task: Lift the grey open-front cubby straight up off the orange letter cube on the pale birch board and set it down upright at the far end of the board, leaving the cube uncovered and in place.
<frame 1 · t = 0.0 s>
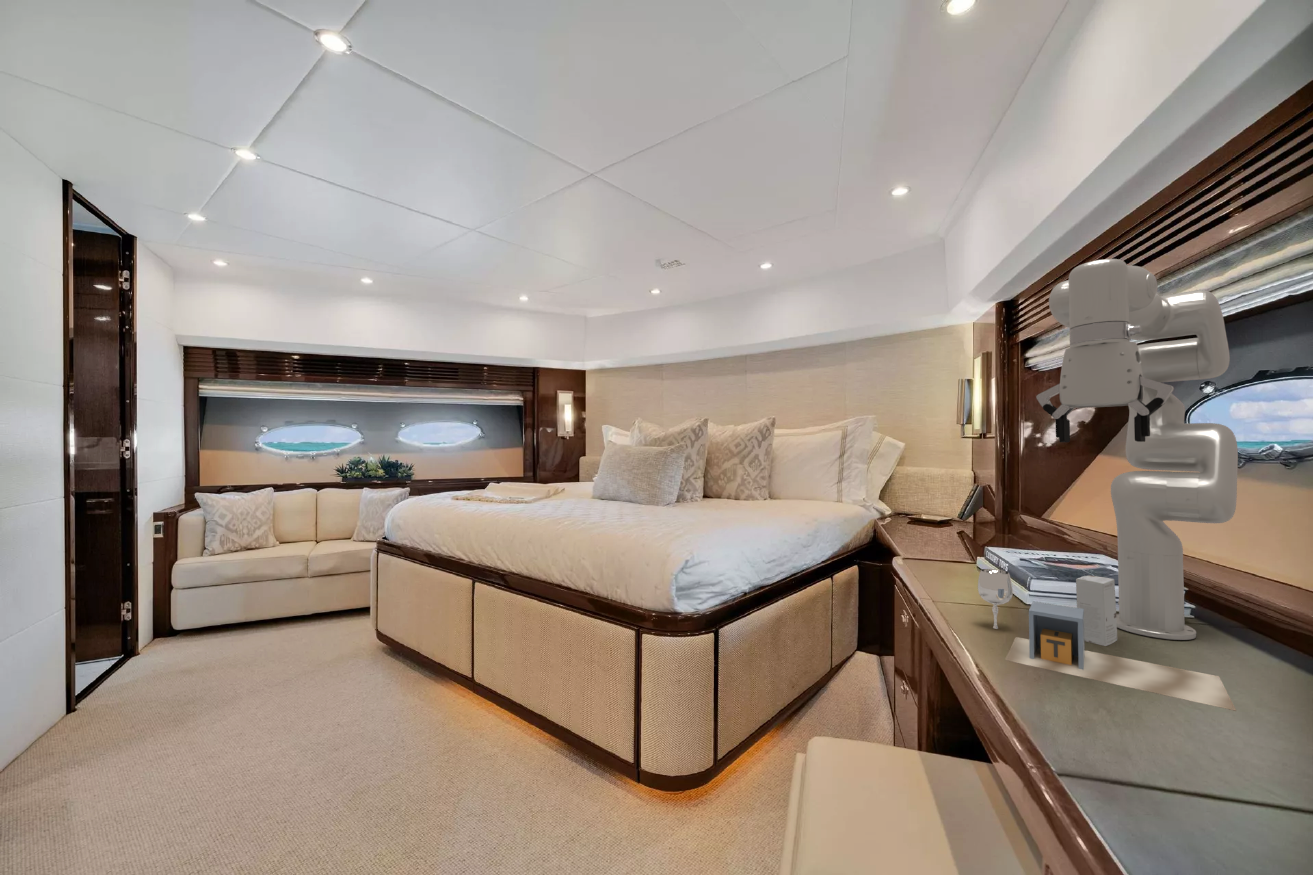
hand: (1100, 441, 86), 37 cm above the table, tool pointing down, fingers open, 9 cm apart
wineglass: (995, 634, 103), on the table
board: (1108, 674, 84), on the table
grey open-front cubby: (1057, 657, 88), point 1 cm above the table, touching board
letter cube: (1056, 658, 88), point 1 cm above the table, touching board
skincare box: (1097, 645, 96), on the table
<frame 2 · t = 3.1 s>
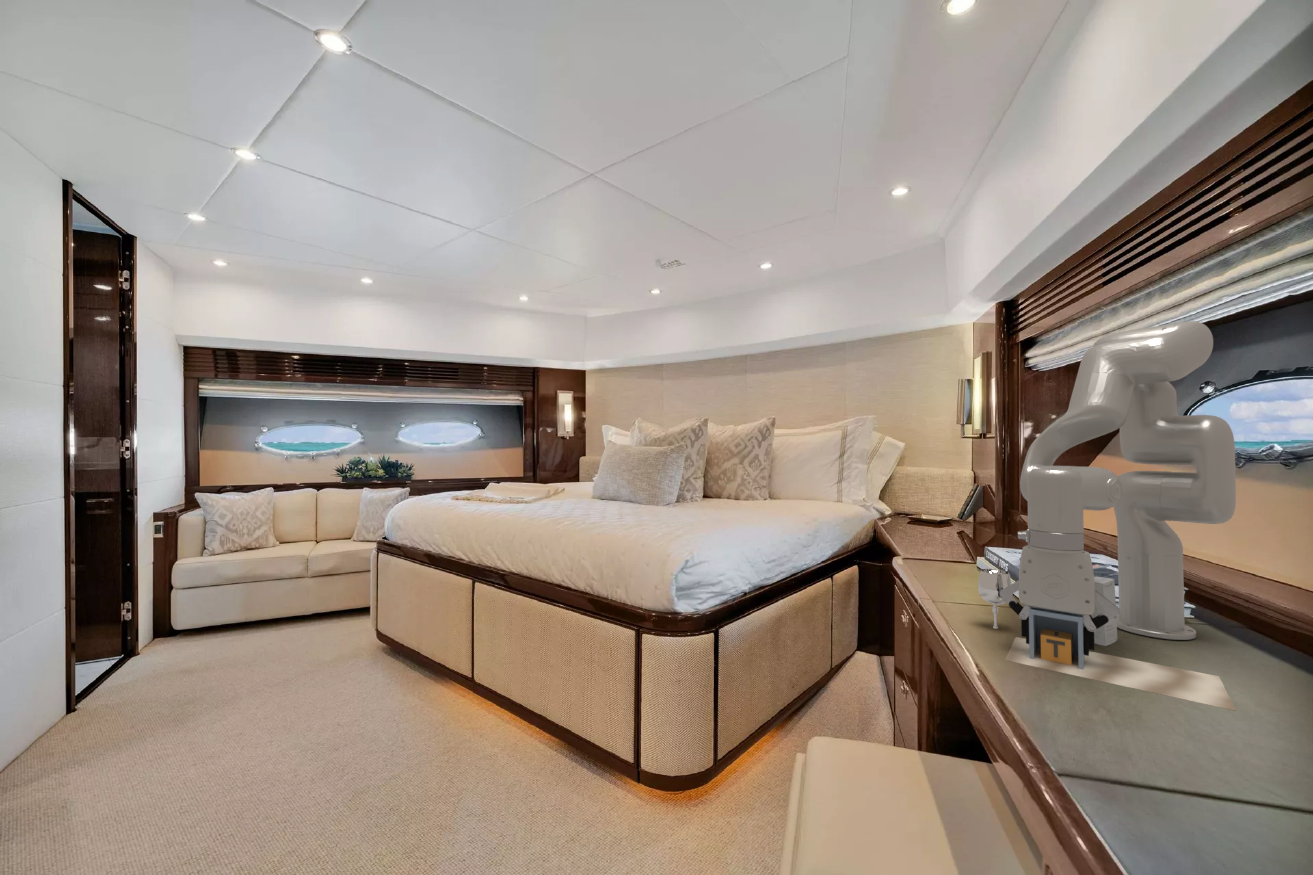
hand: (1057, 646, 88), 3 cm above the table, tool pointing down, fingers closed on grey open-front cubby, 7 cm apart
grey open-front cubby: (1057, 657, 88), point 1 cm above the table, touching board, gripper
everything else where it was.
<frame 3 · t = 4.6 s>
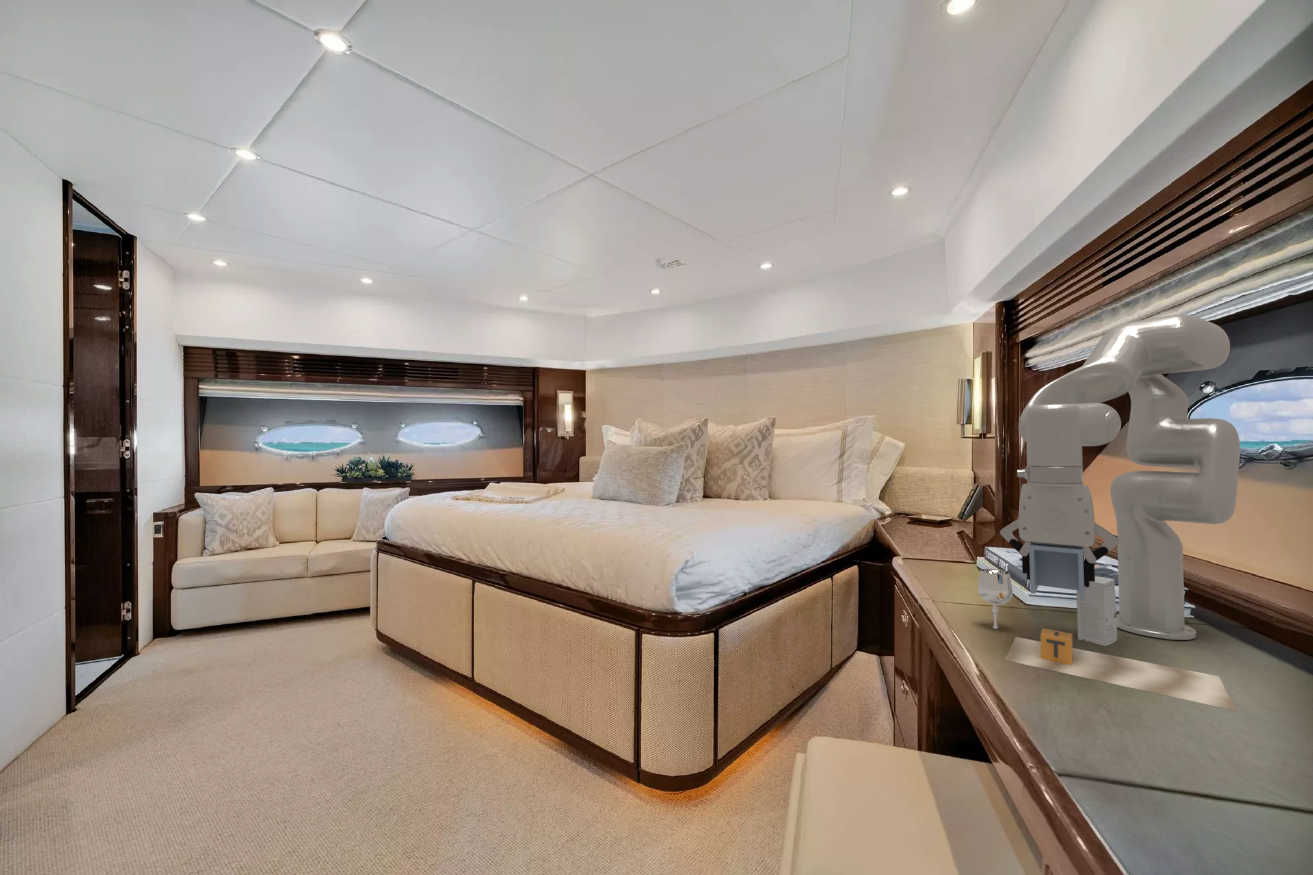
hand: (1057, 581, 88), 14 cm above the table, tool pointing down, fingers closed on grey open-front cubby, 7 cm apart
grey open-front cubby: (1058, 591, 88), point 12 cm above the table, touching gripper
everything else where it was.
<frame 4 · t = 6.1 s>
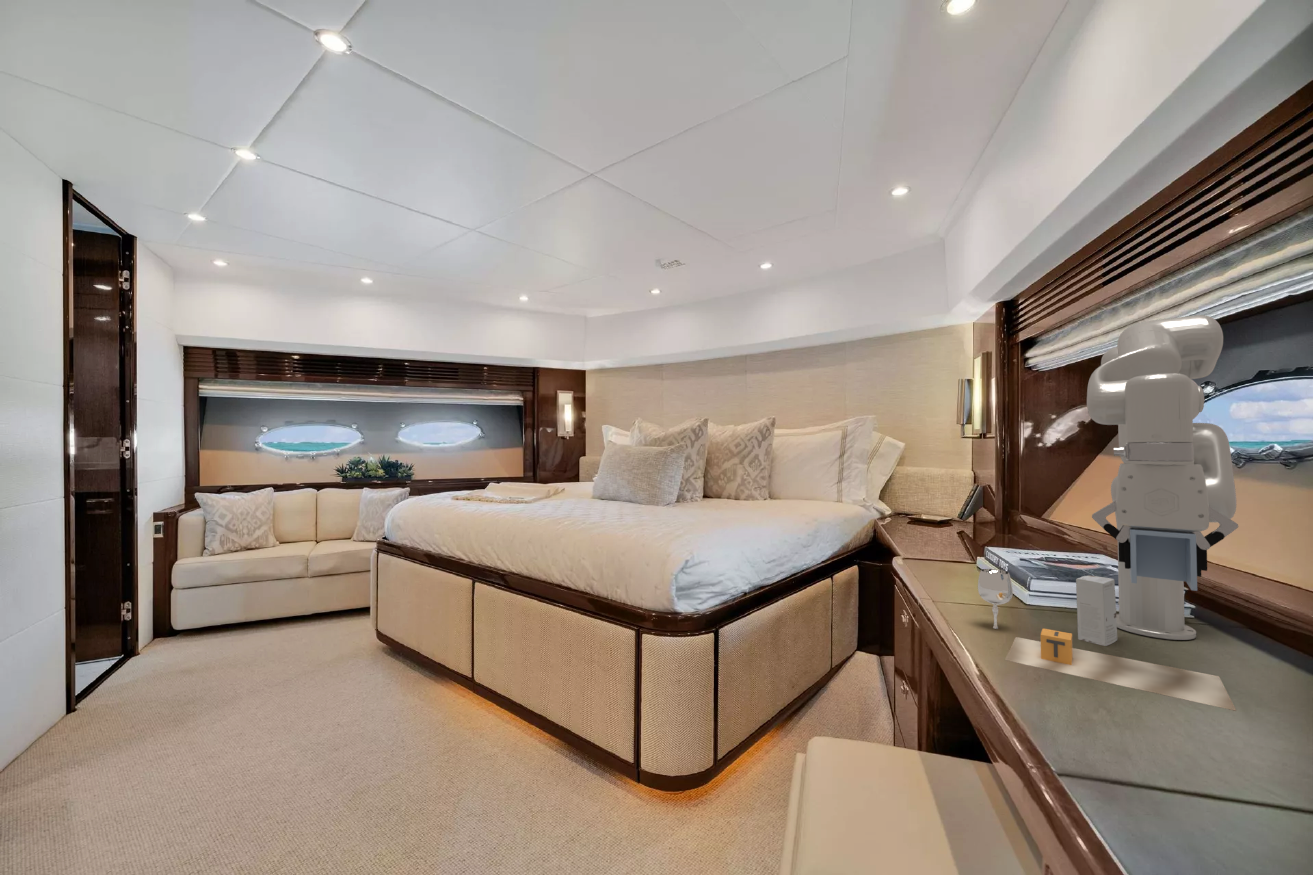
hand: (1161, 570, 80), 18 cm above the table, tool pointing down, fingers closed on grey open-front cubby, 7 cm apart
grey open-front cubby: (1161, 582, 80), point 16 cm above the table, touching gripper
everything else where it was.
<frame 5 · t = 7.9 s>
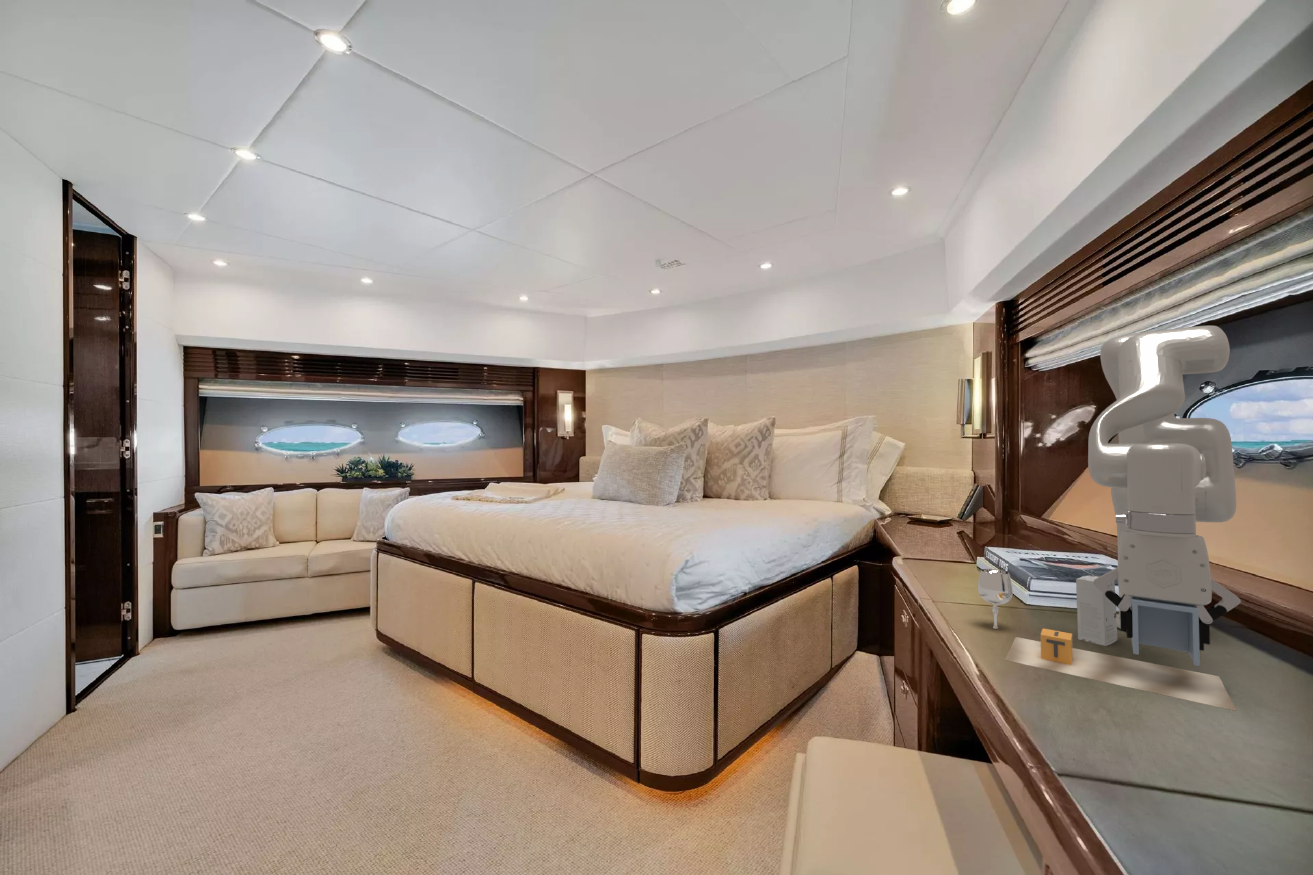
hand: (1163, 640, 79), 7 cm above the table, tool pointing down, fingers closed on grey open-front cubby, 7 cm apart
grey open-front cubby: (1163, 653, 79), point 5 cm above the table, touching gripper
everything else where it was.
when the fingers open (4 cm above the table, at t = 9.5 s): grey open-front cubby drops 1 cm, resting on board.
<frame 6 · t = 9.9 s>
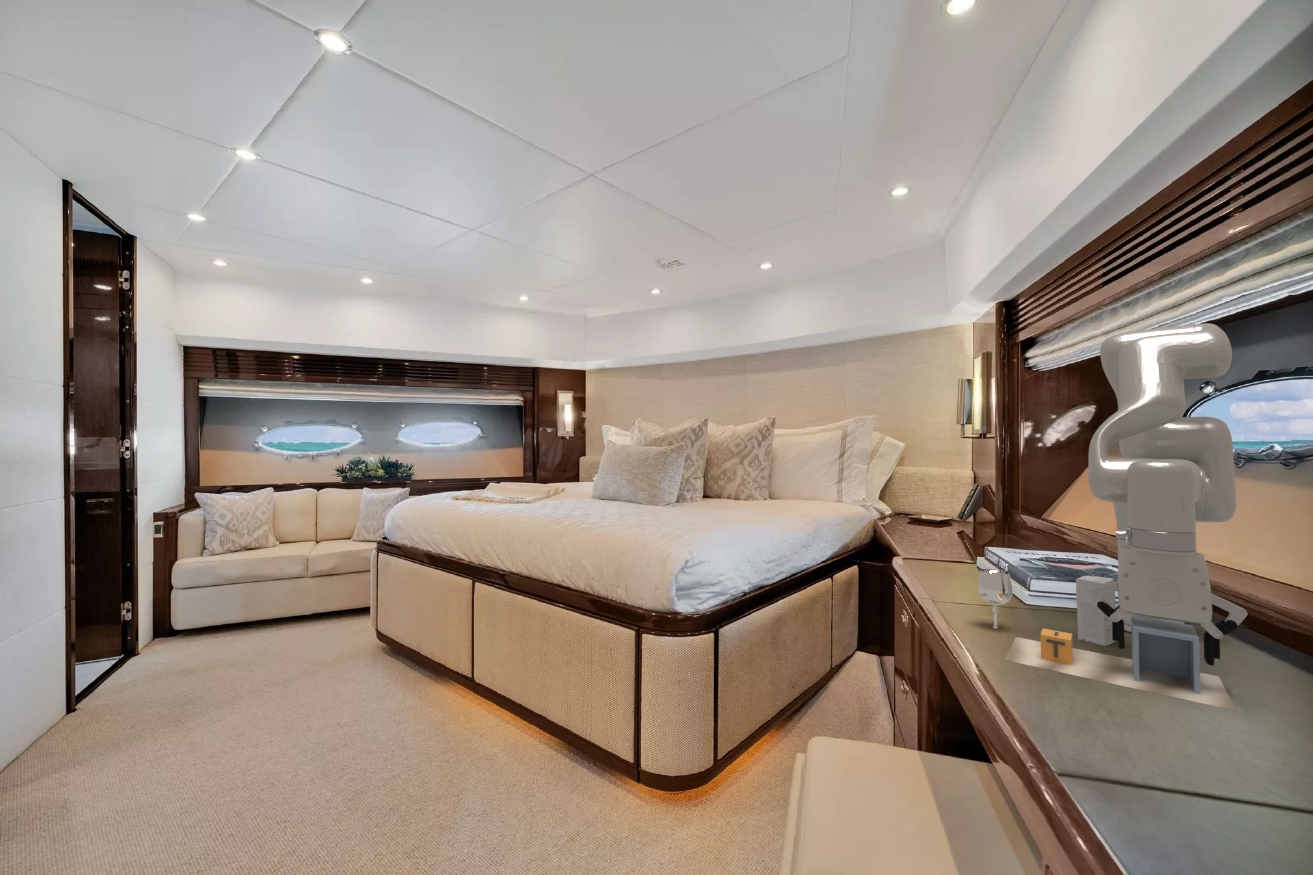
hand: (1163, 654, 80), 5 cm above the table, tool pointing down, fingers open, 9 cm apart
grey open-front cubby: (1164, 679, 80), point 1 cm above the table, touching board
everything else where it was.
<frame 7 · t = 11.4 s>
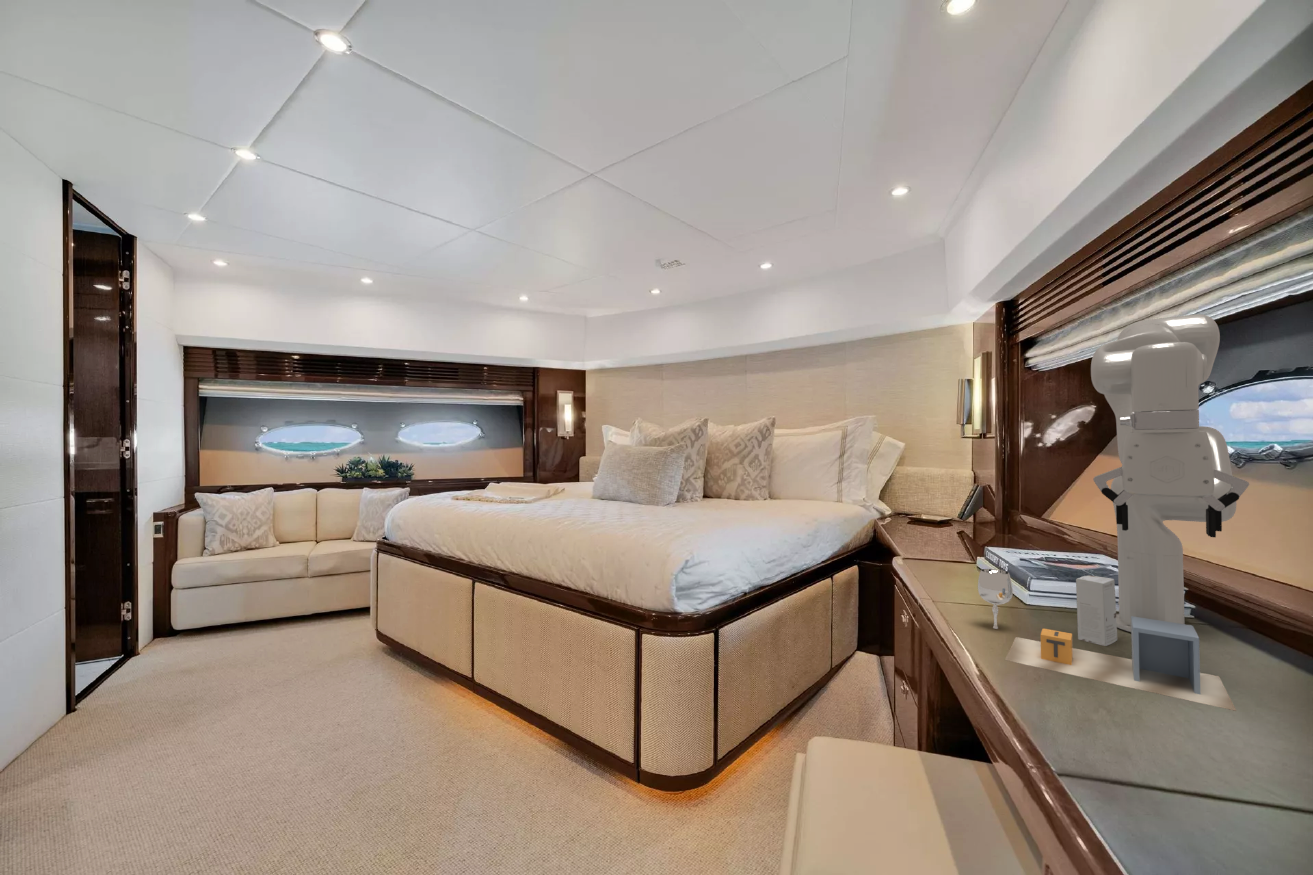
hand: (1166, 532, 82), 23 cm above the table, tool pointing down, fingers open, 9 cm apart
nothing on the table moved.
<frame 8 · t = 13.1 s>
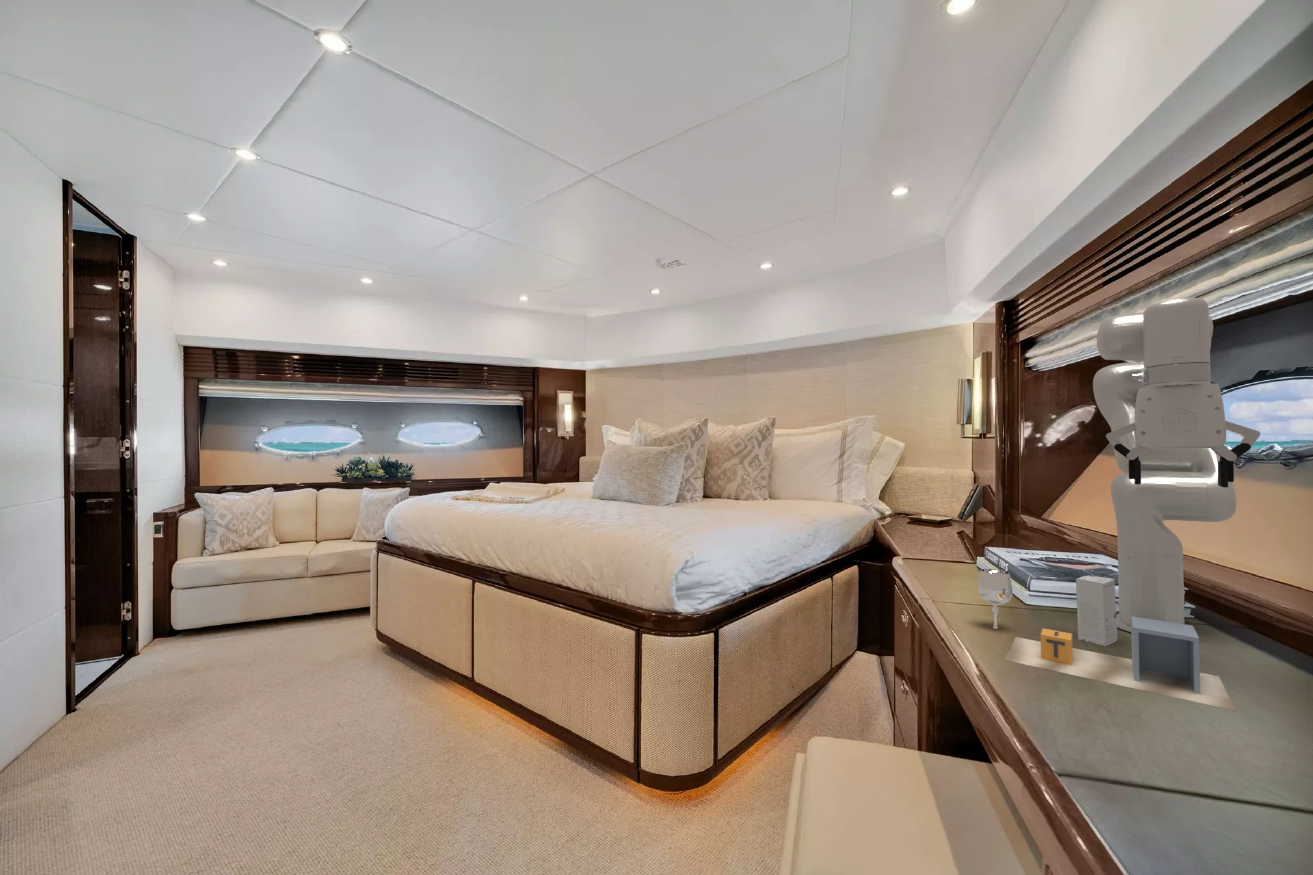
hand: (1178, 485, 83), 30 cm above the table, tool pointing down, fingers open, 9 cm apart
nothing on the table moved.
at the end: grey open-front cubby 0.0 cm from the target spot, point 1.0 cm above the table; grey open-front cubby tilted 0°; letter cube moved 0.0 cm from its start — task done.
